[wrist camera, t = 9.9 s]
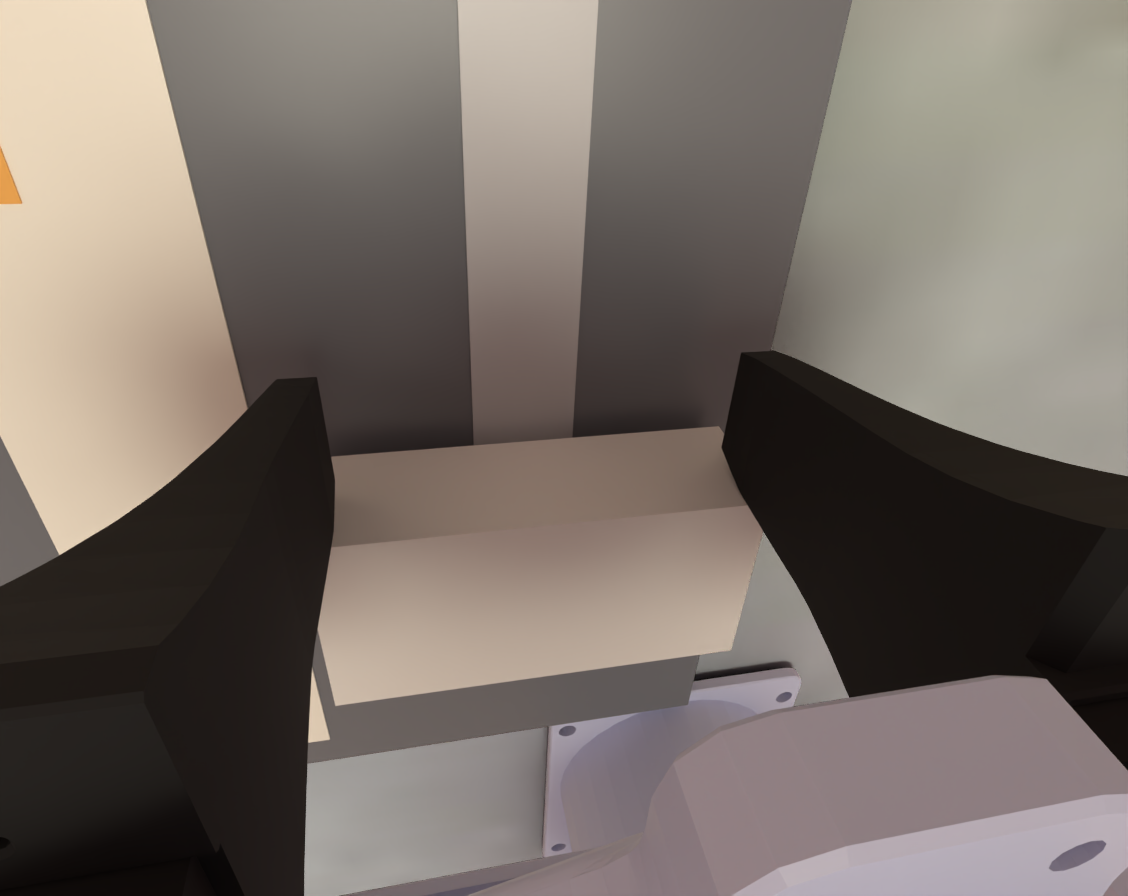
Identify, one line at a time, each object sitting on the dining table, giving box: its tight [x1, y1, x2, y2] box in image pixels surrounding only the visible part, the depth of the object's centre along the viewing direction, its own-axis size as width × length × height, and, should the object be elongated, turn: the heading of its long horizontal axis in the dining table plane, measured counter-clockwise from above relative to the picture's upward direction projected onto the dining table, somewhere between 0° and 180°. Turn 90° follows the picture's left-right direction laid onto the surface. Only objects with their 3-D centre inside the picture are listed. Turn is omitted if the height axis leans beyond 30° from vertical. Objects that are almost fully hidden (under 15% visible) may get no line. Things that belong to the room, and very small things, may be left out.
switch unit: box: [0, 0, 852, 764], centre depth 12 cm, size 24×24×1 cm
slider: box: [318, 426, 763, 706], centre depth 14 cm, size 4×8×2 cm, turn 88°
